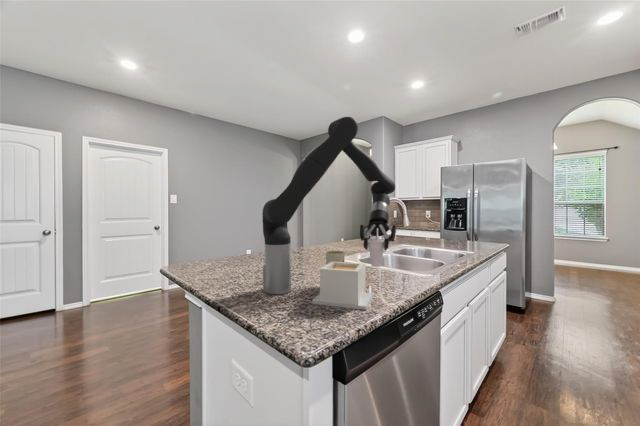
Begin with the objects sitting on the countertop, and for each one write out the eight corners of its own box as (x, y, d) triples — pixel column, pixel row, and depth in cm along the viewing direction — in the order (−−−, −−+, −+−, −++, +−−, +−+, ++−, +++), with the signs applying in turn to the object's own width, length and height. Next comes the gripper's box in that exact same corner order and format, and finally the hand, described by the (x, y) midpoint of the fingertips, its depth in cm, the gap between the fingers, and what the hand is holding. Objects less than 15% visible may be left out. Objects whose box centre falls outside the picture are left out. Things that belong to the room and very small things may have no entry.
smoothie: (387, 267, 99) (386, 228, 98) (369, 267, 99) (368, 229, 99) (383, 263, 105) (382, 227, 105) (366, 264, 105) (366, 227, 105)
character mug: (349, 289, 100) (348, 254, 99) (330, 291, 98) (329, 255, 98) (340, 281, 110) (339, 249, 110) (323, 283, 109) (322, 250, 108)
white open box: (312, 303, 86) (311, 268, 85) (325, 291, 98) (325, 260, 98) (366, 309, 80) (366, 272, 80) (373, 296, 92) (373, 263, 92)
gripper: (360, 208, 111) (354, 241, 100) (397, 208, 106) (395, 243, 95) (363, 221, 116) (357, 253, 105) (398, 221, 111) (396, 255, 100)
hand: (375, 248), depth 100 cm, fingers closed on smoothie, 6 cm apart
